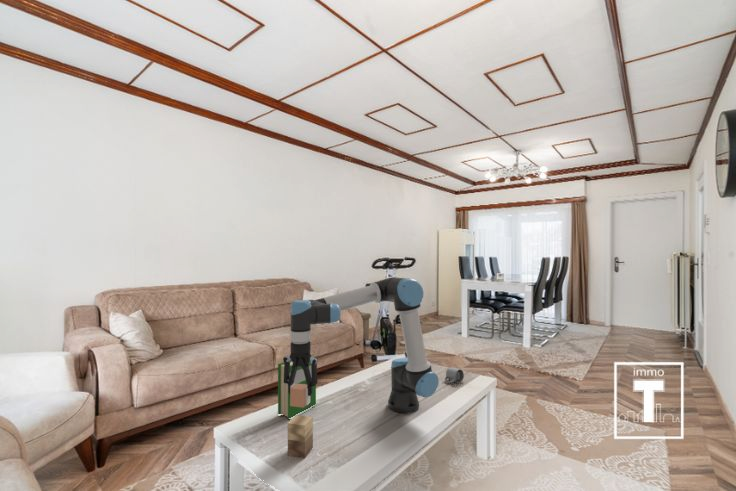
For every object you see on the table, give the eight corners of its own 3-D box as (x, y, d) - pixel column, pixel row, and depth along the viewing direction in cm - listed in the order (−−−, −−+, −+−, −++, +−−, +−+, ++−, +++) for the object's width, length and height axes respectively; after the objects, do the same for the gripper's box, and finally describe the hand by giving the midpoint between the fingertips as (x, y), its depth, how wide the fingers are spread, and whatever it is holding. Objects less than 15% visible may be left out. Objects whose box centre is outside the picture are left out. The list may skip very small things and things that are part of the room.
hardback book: (289, 420, 162) (289, 366, 163) (277, 416, 166) (278, 363, 167) (315, 406, 177) (315, 357, 177) (304, 403, 181) (304, 355, 182)
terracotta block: (309, 401, 139) (309, 384, 139) (303, 407, 133) (303, 389, 133) (296, 400, 140) (296, 383, 140) (290, 406, 135) (290, 388, 135)
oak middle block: (312, 432, 139) (312, 417, 139) (304, 441, 132) (304, 425, 132) (296, 430, 141) (296, 415, 141) (287, 439, 134) (287, 423, 134)
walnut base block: (312, 448, 139) (312, 432, 139) (305, 458, 132) (305, 441, 132) (296, 446, 141) (296, 430, 141) (287, 455, 134) (287, 439, 134)
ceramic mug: (453, 377, 217) (453, 364, 217) (464, 381, 211) (464, 368, 211) (441, 381, 211) (440, 368, 211) (451, 385, 204) (451, 372, 205)
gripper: (326, 340, 139) (326, 401, 138) (283, 337, 143) (283, 396, 143) (319, 345, 131) (319, 409, 131) (273, 342, 136) (273, 404, 136)
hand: (300, 402), depth 137 cm, fingers closed on terracotta block, 5 cm apart
